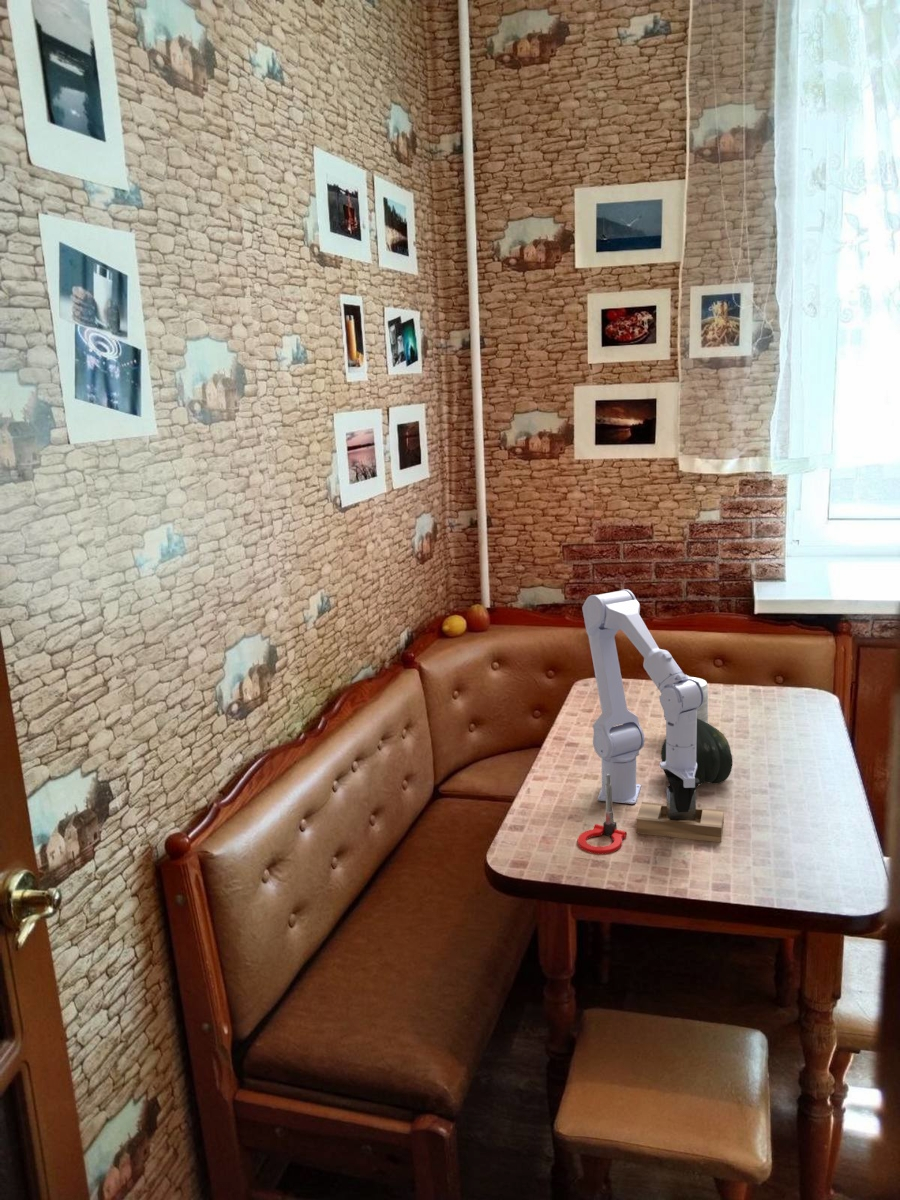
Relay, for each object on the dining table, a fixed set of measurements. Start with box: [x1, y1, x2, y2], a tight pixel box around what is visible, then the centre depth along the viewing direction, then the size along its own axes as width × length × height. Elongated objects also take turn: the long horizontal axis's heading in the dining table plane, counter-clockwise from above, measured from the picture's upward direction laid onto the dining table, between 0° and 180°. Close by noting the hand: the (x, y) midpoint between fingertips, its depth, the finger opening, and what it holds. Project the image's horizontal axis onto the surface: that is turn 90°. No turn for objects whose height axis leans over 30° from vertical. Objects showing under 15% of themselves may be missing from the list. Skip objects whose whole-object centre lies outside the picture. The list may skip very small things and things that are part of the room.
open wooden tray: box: [635, 801, 725, 843], centre depth 189 cm, size 8×16×3 cm, turn 71°
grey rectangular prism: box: [666, 785, 697, 821], centre depth 188 cm, size 3×5×6 cm, turn 90°
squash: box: [660, 718, 733, 786], centre depth 210 cm, size 14×15×15 cm
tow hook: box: [577, 774, 628, 855], centre depth 183 cm, size 8×13×9 cm
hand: (680, 807), depth 188 cm, fingers closed on grey rectangular prism, 3 cm apart
